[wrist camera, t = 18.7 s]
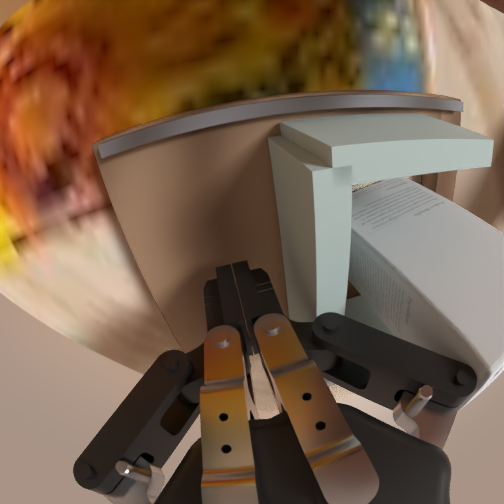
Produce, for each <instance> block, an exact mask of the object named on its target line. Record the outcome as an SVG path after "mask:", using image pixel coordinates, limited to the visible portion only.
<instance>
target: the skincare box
mask: <svg viewBox="0 0 504 504" xmlns="http://www.w3.org/2000/svg"><path fill="white" fill-rule="evenodd" d="M348 280H349V281H350V282H351V284H352V285H353V286H354V287H355V288H356V290H357V291H358V292H359V293H360V294H361V295H362V296H363V298H364V299H365V300H366V301H367V302H368V304H369V305H370V306H371V307H372V309H373V310H374V311H375V312H376V313H377V315H378V316H379V317H380V318H381V320H382V321H383V322H384V323H385V325H386V326H387V327H388V328H389V329H390V331H391V332H392V333H393V334H394V336H395V337H398V338H400V339H403V340H405V341H408V342H410V343H413V344H415V345H418V346H420V347H423V348H426V349H428V350H431V351H433V352H436V353H438V354H441V355H444V356H446V357H449V358H452V359H454V360H457V361H460V362H462V363H465V364H467V365H469V366H470V367H471V368H472V369H473V370H474V371H475V373H476V376H477V385H476V388H475V390H474V391H473V392H472V393H471V394H470V395H469V396H468V398H467V399H466V400H465V401H464V402H463V403H462V404H461V405H460V406H459V408H458V411H459V410H460V409H462V408H463V407H464V406H465V405H467V404H468V403H469V402H470V401H472V400H473V399H474V398H475V397H476V396H478V395H479V393H481V392H482V391H483V390H484V389H485V388H486V387H487V386H488V385H490V384H491V383H492V382H493V381H494V380H495V379H496V378H497V377H498V376H499V375H500V374H501V372H503V371H504V234H503V233H502V232H500V231H499V230H497V229H496V228H494V227H493V226H491V225H490V224H488V223H487V222H485V221H483V220H482V219H480V218H479V217H477V216H475V215H474V214H472V213H471V212H469V211H467V210H466V209H464V208H462V207H461V206H459V205H457V204H455V203H454V202H452V201H450V200H448V199H446V198H445V197H443V196H441V195H439V194H437V193H435V192H433V191H431V190H429V189H427V188H426V187H424V186H422V185H420V184H418V183H416V182H414V181H412V180H410V179H408V178H406V177H400V178H393V179H387V180H383V181H381V182H378V183H375V184H373V185H370V186H368V187H365V188H363V189H360V190H358V191H355V192H352V220H351V243H350V260H349V273H348ZM458 411H457V412H458Z"/></svg>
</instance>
